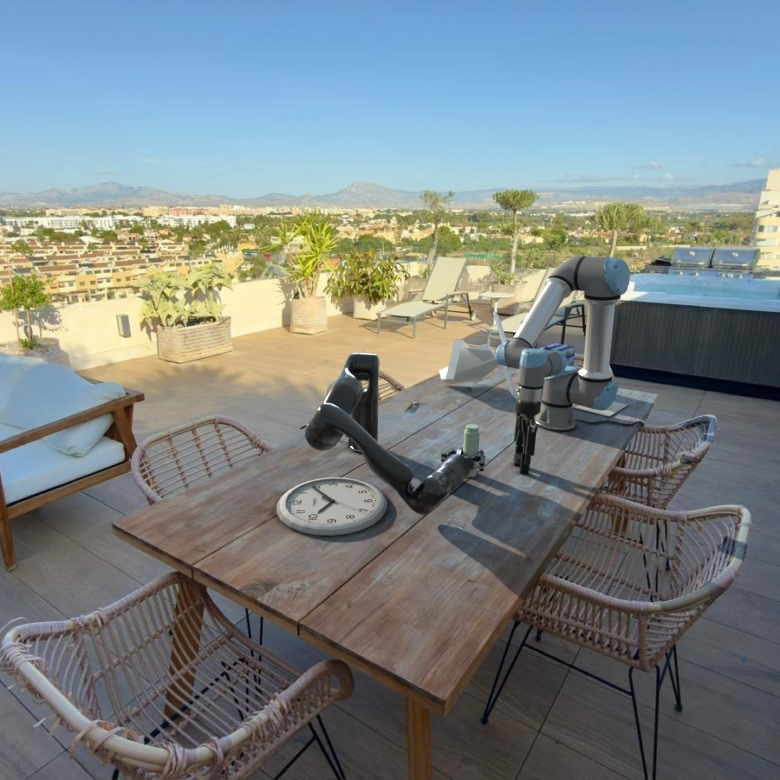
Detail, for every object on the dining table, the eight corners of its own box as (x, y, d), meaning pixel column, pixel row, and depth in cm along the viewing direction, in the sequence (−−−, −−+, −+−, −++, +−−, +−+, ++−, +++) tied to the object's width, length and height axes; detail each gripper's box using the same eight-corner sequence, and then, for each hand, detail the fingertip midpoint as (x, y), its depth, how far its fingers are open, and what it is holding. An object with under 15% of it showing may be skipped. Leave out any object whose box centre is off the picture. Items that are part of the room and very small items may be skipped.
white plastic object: (461, 429, 252) (437, 405, 227) (444, 352, 274) (420, 323, 250) (535, 404, 240) (518, 377, 215) (510, 326, 262) (492, 293, 237)
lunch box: (547, 395, 239) (552, 351, 233) (526, 390, 247) (530, 347, 240) (574, 384, 257) (579, 343, 251) (554, 380, 264) (558, 339, 258)
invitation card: (608, 416, 214) (573, 407, 224) (608, 416, 214) (573, 408, 224) (628, 404, 229) (594, 396, 238) (628, 405, 229) (594, 397, 238)
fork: (403, 411, 216) (403, 406, 215) (414, 400, 230) (414, 395, 230) (409, 412, 215) (409, 407, 215) (420, 400, 229) (420, 396, 229)
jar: (479, 474, 162) (483, 427, 157) (469, 478, 159) (472, 430, 155) (469, 469, 166) (472, 422, 161) (458, 473, 163) (461, 425, 158)
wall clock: (392, 527, 129) (268, 531, 127) (391, 533, 130) (269, 537, 127) (383, 473, 158) (282, 475, 155) (383, 478, 158) (282, 480, 156)
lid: (534, 462, 165) (534, 457, 165) (523, 466, 162) (523, 461, 161) (520, 456, 169) (521, 451, 169) (509, 460, 166) (510, 455, 165)
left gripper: (429, 477, 153) (451, 456, 167) (475, 489, 146) (495, 466, 161) (430, 454, 151) (453, 434, 165) (477, 465, 144) (496, 444, 158)
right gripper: (508, 390, 168) (501, 457, 175) (526, 409, 151) (518, 482, 157) (531, 390, 169) (523, 457, 175) (551, 409, 151) (542, 482, 158)
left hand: (473, 450), depth 163 cm, fingers closed on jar, 4 cm apart
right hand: (521, 468), depth 166 cm, fingers closed on lid, 5 cm apart
